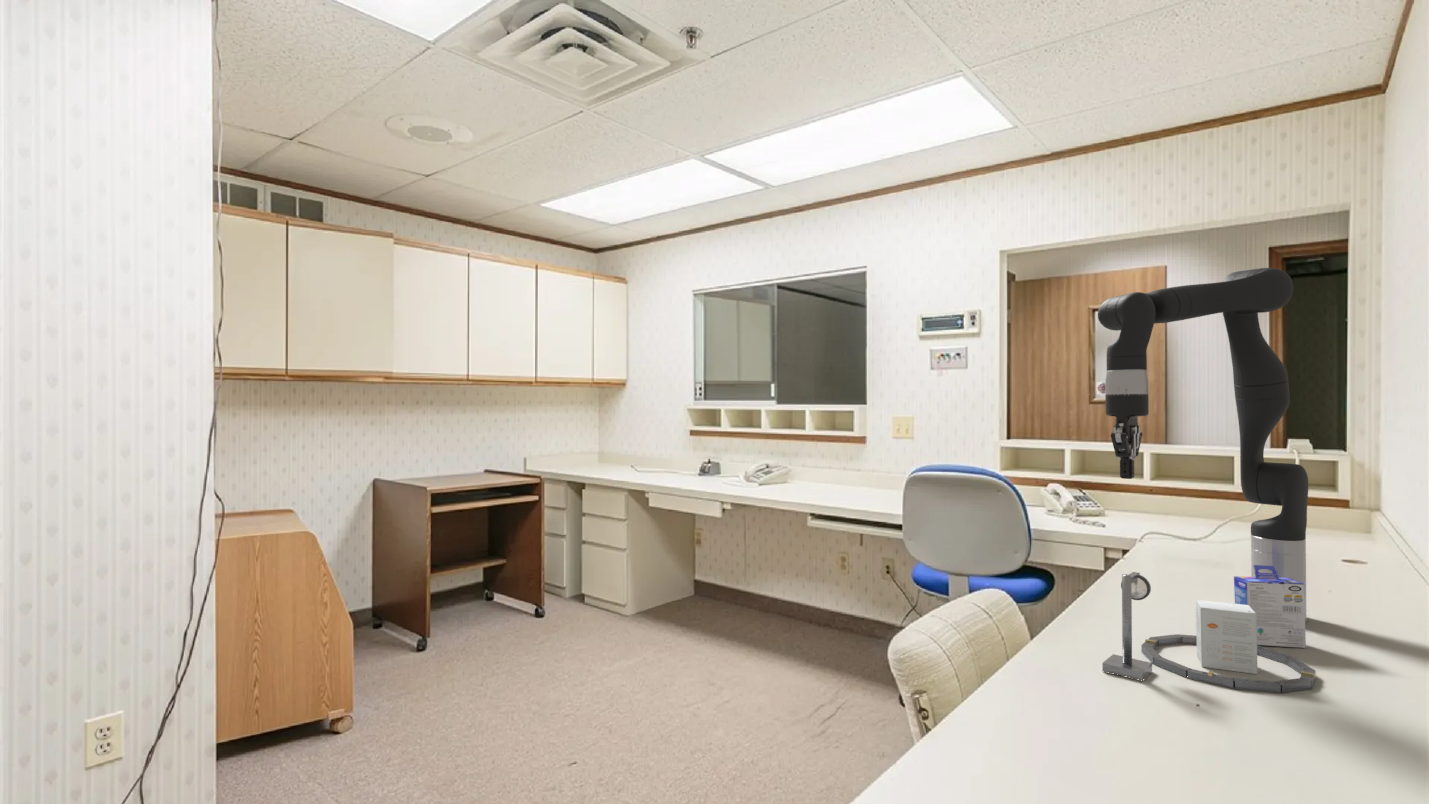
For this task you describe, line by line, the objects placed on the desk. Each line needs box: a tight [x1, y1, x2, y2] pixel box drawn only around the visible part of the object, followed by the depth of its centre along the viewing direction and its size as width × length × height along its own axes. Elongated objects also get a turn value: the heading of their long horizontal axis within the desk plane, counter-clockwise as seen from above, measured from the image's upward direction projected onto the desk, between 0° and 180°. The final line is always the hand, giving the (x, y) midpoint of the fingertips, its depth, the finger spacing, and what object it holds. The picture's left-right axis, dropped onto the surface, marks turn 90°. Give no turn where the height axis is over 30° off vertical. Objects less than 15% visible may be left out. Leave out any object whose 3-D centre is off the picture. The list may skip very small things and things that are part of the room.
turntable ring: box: [1141, 633, 1317, 694], centre depth 122 cm, size 24×24×2 cm
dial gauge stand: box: [1102, 571, 1153, 682], centre depth 120 cm, size 9×6×16 cm, turn 135°
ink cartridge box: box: [1233, 565, 1307, 649], centre depth 133 cm, size 10×6×14 cm, turn 78°
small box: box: [1195, 599, 1259, 675], centre depth 121 cm, size 8×6×10 cm
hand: (1127, 478), depth 140 cm, fingers closed
